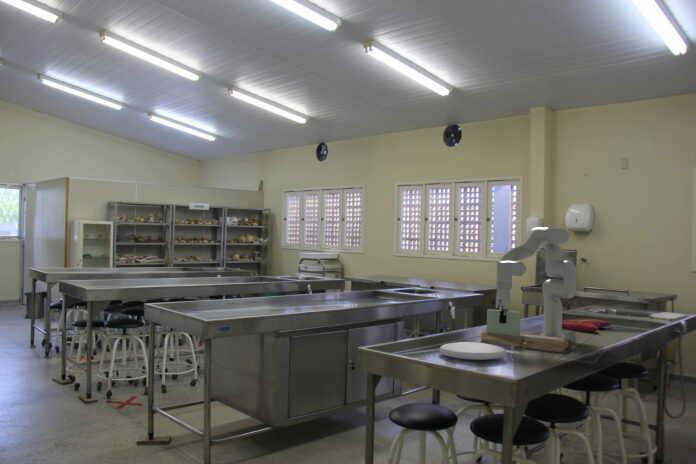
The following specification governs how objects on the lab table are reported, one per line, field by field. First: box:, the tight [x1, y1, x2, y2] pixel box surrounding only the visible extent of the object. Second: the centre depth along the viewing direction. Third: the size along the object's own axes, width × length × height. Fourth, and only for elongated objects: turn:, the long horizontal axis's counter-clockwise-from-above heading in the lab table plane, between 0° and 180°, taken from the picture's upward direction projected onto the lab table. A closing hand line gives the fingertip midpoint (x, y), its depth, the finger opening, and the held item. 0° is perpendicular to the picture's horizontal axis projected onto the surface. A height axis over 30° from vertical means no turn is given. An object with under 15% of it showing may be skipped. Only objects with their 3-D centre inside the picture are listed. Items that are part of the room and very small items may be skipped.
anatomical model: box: [562, 318, 612, 333], centre depth 326 cm, size 30×7×30 cm
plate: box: [439, 341, 507, 361], centre depth 234 cm, size 28×6×27 cm
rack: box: [522, 333, 573, 354], centre depth 254 cm, size 14×20×7 cm
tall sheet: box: [486, 308, 521, 337], centre depth 265 cm, size 2×16×12 cm, turn 57°
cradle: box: [479, 330, 526, 347], centre depth 265 cm, size 10×20×5 cm, turn 57°
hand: (503, 322), depth 265 cm, fingers closed on tall sheet, 2 cm apart
